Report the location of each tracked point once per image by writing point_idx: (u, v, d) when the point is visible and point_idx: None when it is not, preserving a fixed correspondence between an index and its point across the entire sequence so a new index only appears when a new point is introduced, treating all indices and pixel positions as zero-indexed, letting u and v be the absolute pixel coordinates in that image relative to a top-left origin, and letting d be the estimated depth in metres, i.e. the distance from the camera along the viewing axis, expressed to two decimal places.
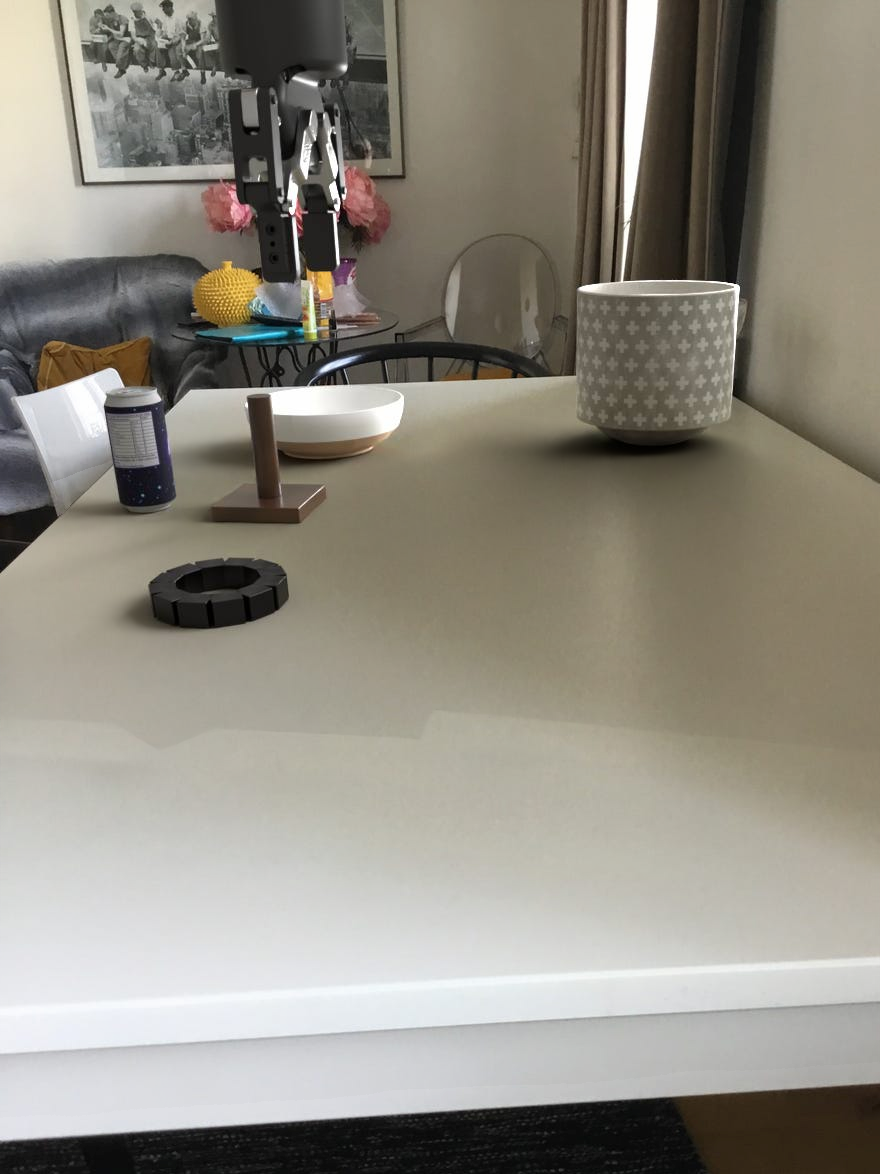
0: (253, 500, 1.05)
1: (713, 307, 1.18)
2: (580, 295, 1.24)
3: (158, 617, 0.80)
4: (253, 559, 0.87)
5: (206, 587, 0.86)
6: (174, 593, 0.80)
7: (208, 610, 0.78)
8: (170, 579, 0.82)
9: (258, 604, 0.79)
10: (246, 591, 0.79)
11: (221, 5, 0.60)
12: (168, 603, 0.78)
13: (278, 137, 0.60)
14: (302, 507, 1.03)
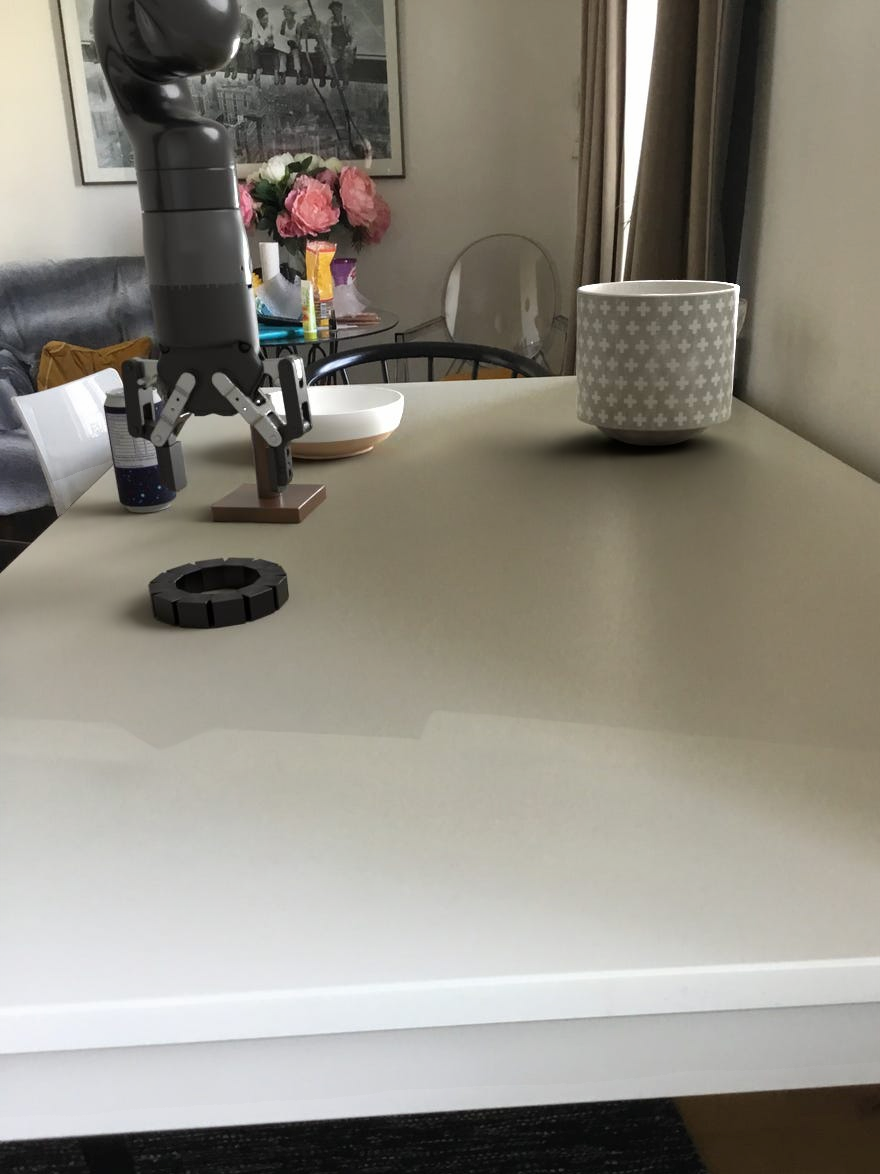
0: (253, 500, 1.05)
1: (713, 307, 1.18)
2: (580, 295, 1.24)
3: (158, 617, 0.80)
4: (253, 559, 0.87)
5: (206, 587, 0.86)
6: (174, 593, 0.80)
7: (208, 610, 0.78)
8: (170, 579, 0.82)
9: (258, 604, 0.79)
10: (246, 591, 0.79)
11: (223, 296, 0.75)
12: (168, 603, 0.78)
13: None
14: (302, 507, 1.03)
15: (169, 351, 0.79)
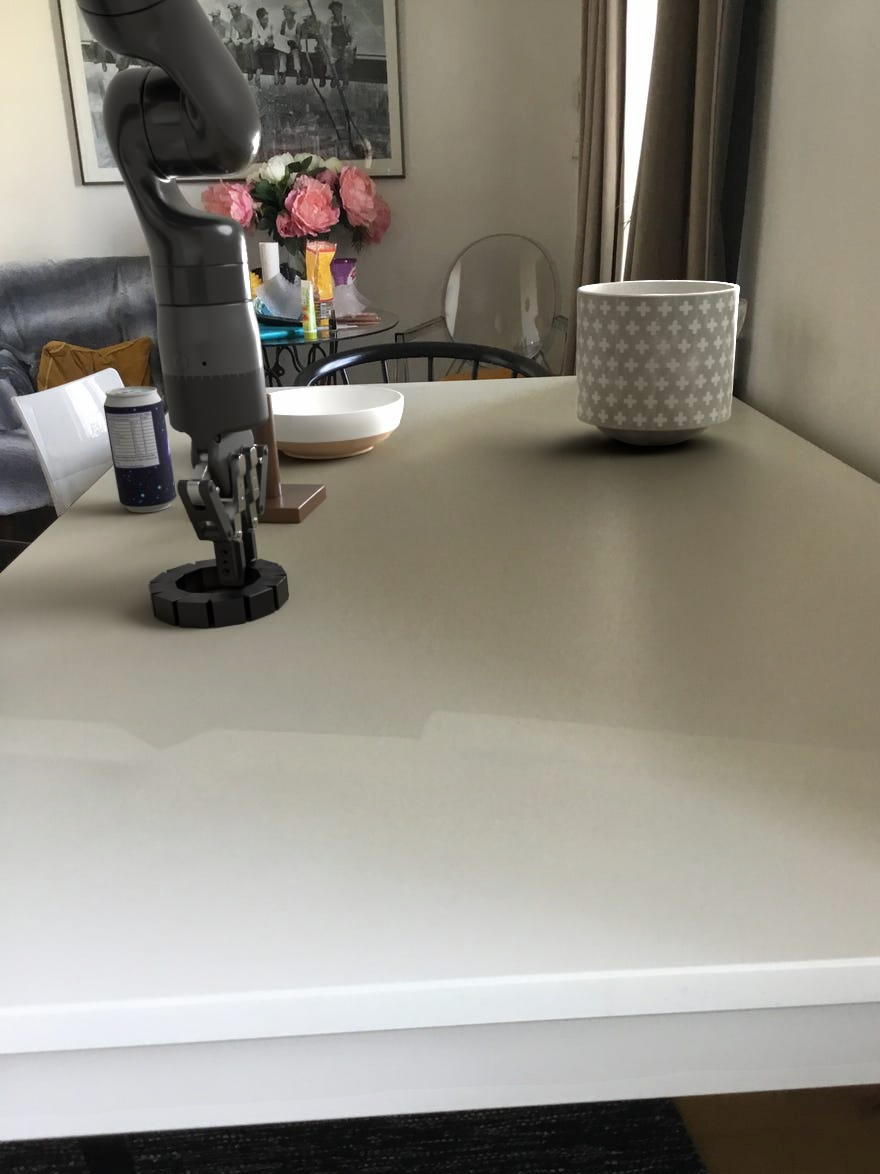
0: None
1: (713, 307, 1.18)
2: (580, 295, 1.24)
3: (158, 616, 0.80)
4: (253, 559, 0.87)
5: (206, 587, 0.86)
6: (174, 593, 0.80)
7: (208, 610, 0.78)
8: (170, 579, 0.83)
9: (258, 603, 0.79)
10: (246, 591, 0.79)
11: None
12: (168, 603, 0.78)
13: None
14: (302, 507, 1.03)
15: (220, 440, 0.79)
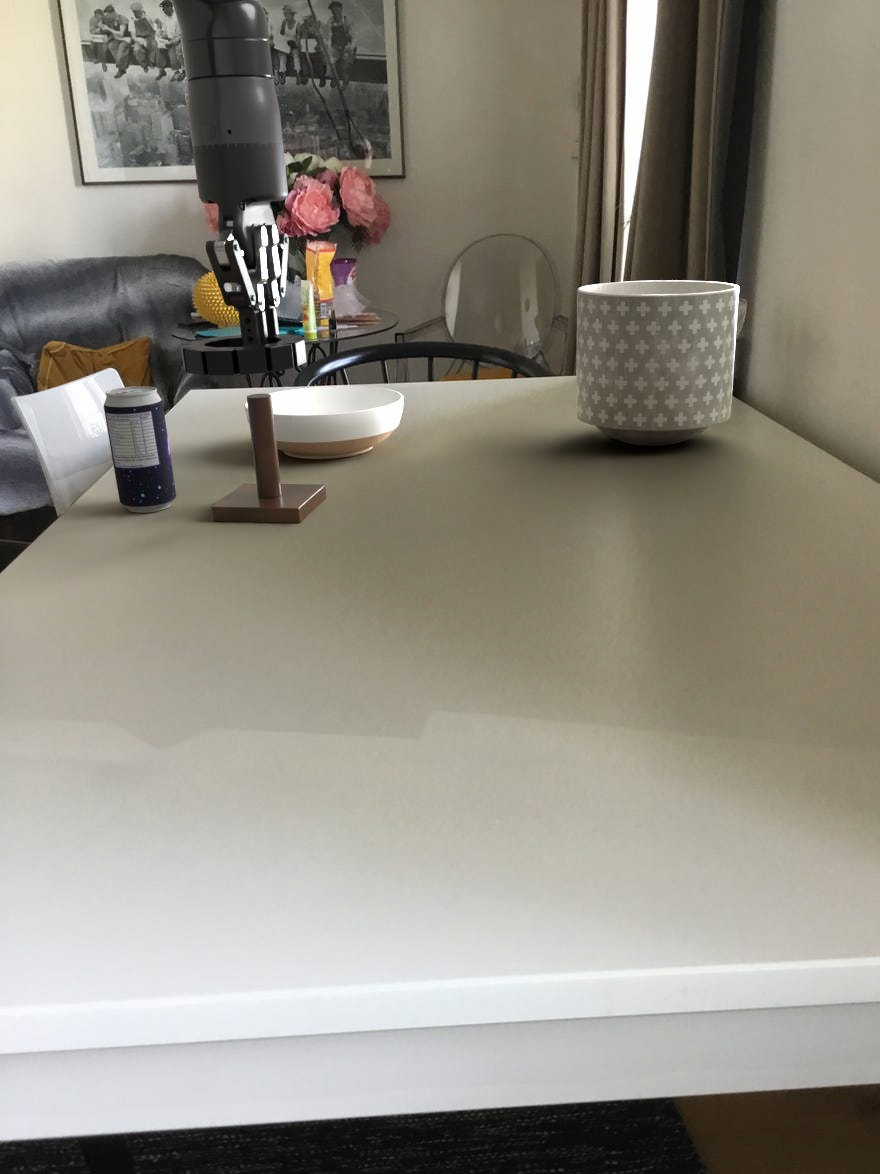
0: (253, 500, 1.05)
1: (713, 307, 1.18)
2: (580, 295, 1.24)
3: (189, 370, 0.89)
4: (275, 334, 0.95)
5: None
6: (203, 347, 0.88)
7: (233, 359, 0.87)
8: (200, 343, 0.91)
9: (278, 356, 0.88)
10: (268, 345, 0.88)
11: None
12: (198, 353, 0.87)
13: None
14: (302, 507, 1.03)
15: (244, 208, 0.88)
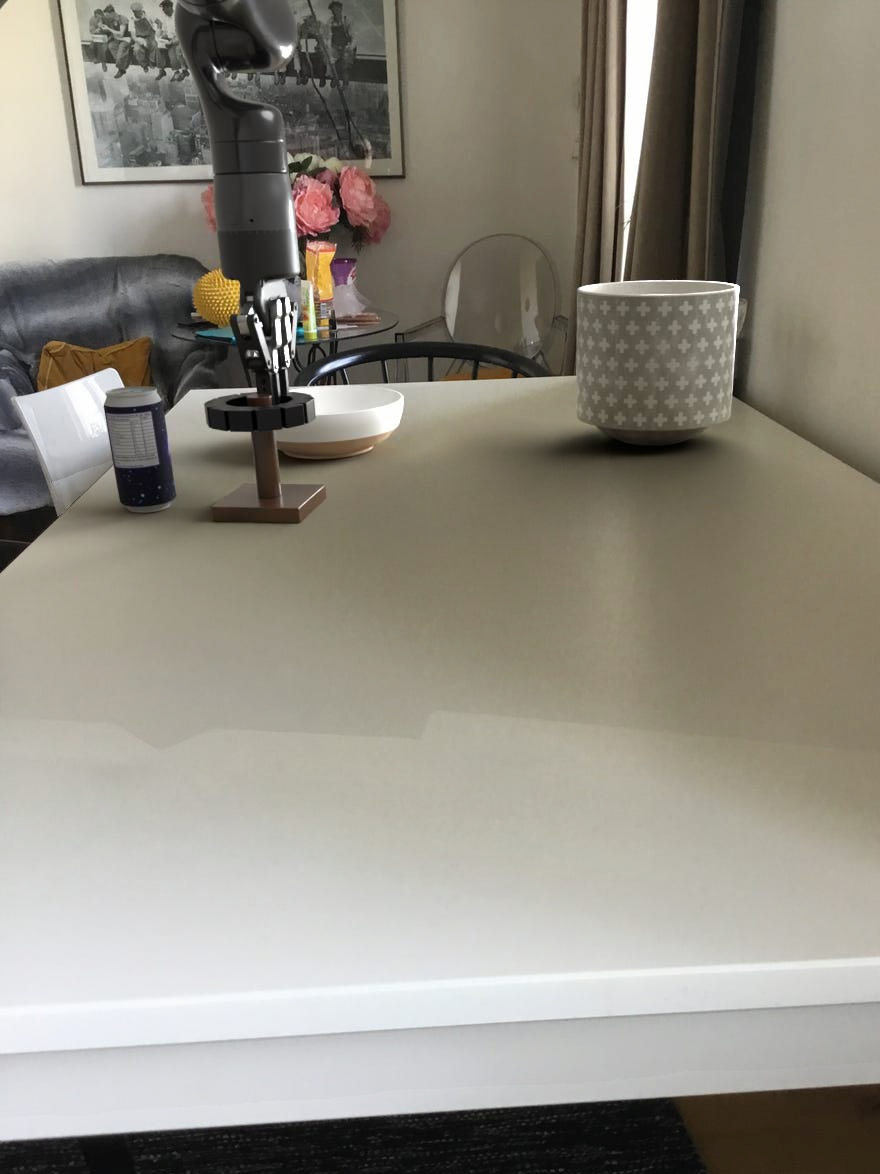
0: (253, 500, 1.05)
1: (713, 307, 1.18)
2: (580, 295, 1.24)
3: (212, 426, 1.01)
4: (287, 392, 1.07)
5: None
6: (225, 407, 1.00)
7: (252, 417, 0.99)
8: (221, 401, 1.03)
9: (292, 415, 1.00)
10: (282, 405, 1.00)
11: None
12: (221, 412, 0.99)
13: None
14: (302, 507, 1.03)
15: (263, 285, 1.00)
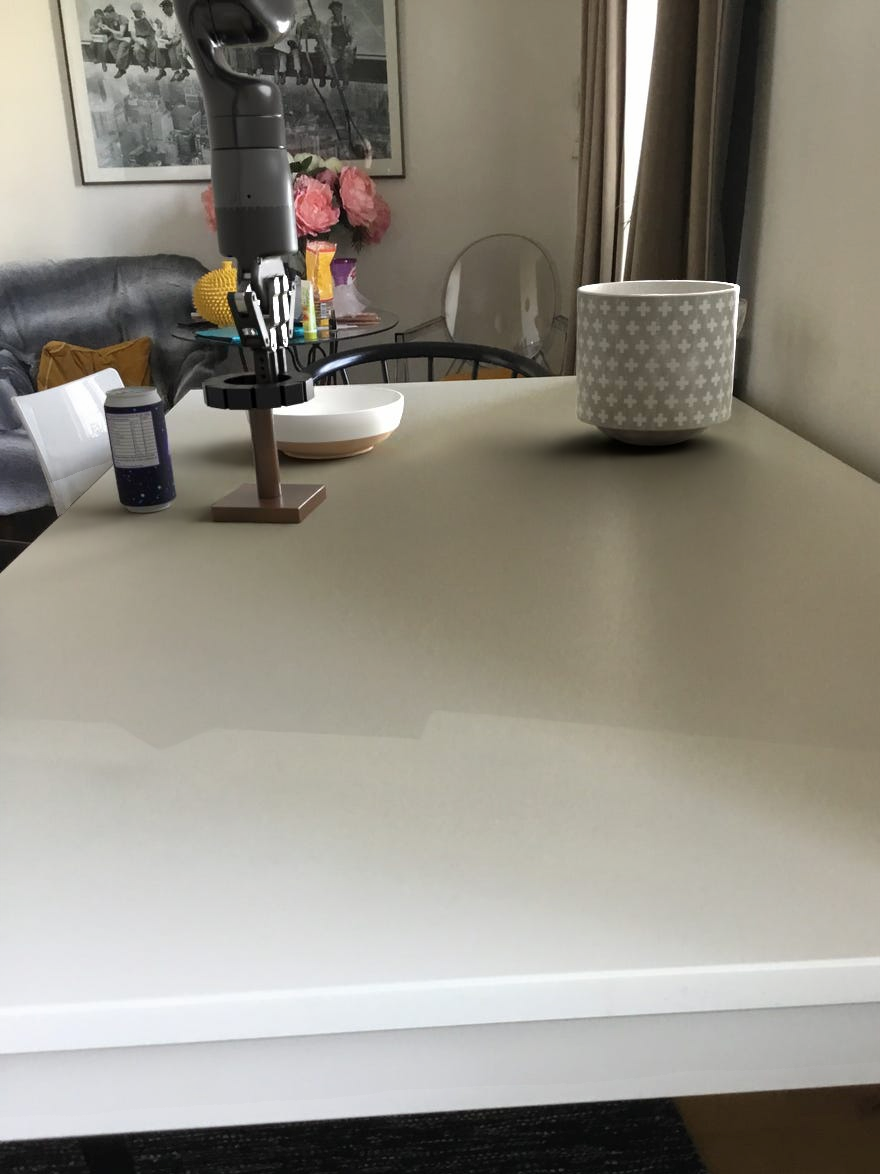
0: (253, 500, 1.05)
1: (713, 307, 1.18)
2: (580, 295, 1.24)
3: (211, 404, 1.00)
4: (285, 371, 1.07)
5: None
6: (224, 385, 1.00)
7: (251, 395, 0.98)
8: (219, 380, 1.02)
9: (291, 393, 0.99)
10: (281, 383, 0.99)
11: None
12: (219, 390, 0.98)
13: None
14: (302, 507, 1.03)
15: (260, 262, 0.99)
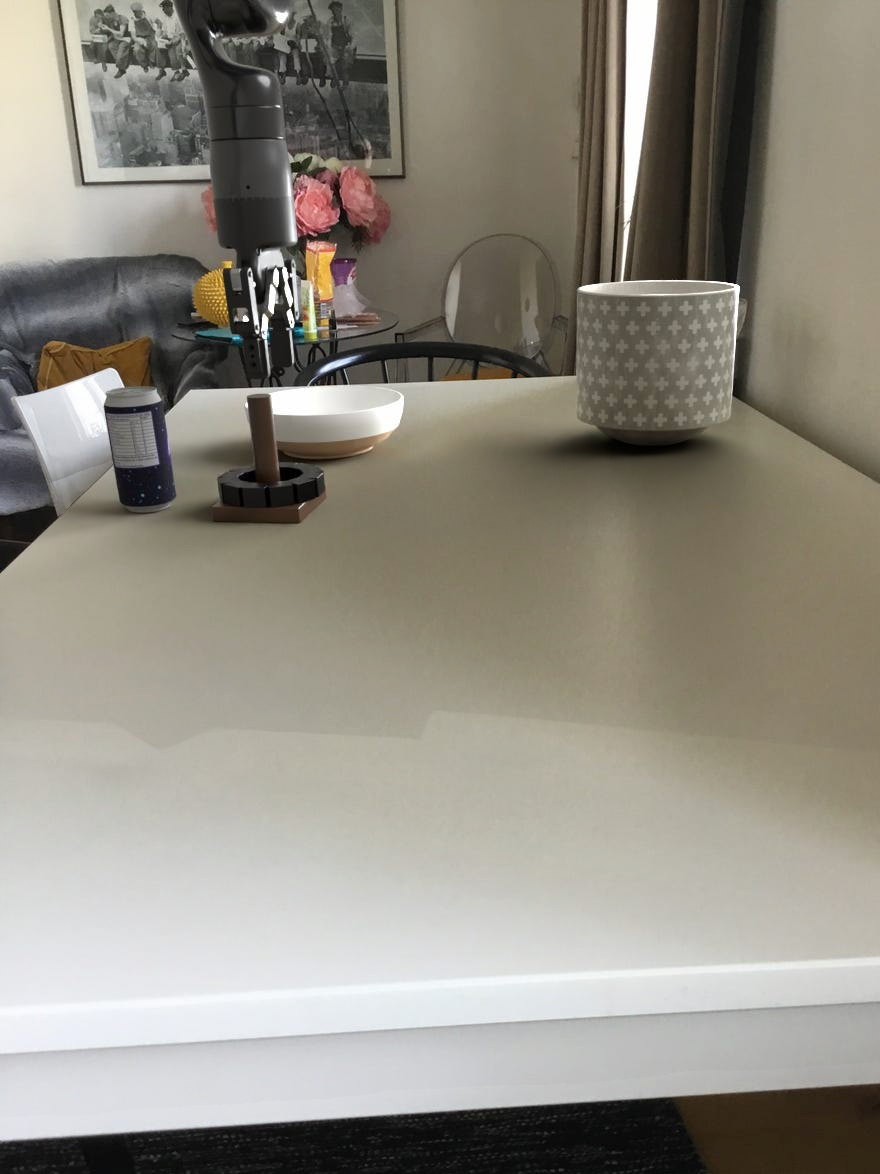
0: None
1: (713, 307, 1.18)
2: (580, 295, 1.24)
3: (226, 501, 1.04)
4: (296, 463, 1.11)
5: None
6: (239, 483, 1.04)
7: (266, 494, 1.02)
8: (233, 475, 1.07)
9: (303, 490, 1.04)
10: (294, 481, 1.04)
11: None
12: (235, 489, 1.02)
13: None
14: (302, 507, 1.03)
15: (259, 254, 0.99)
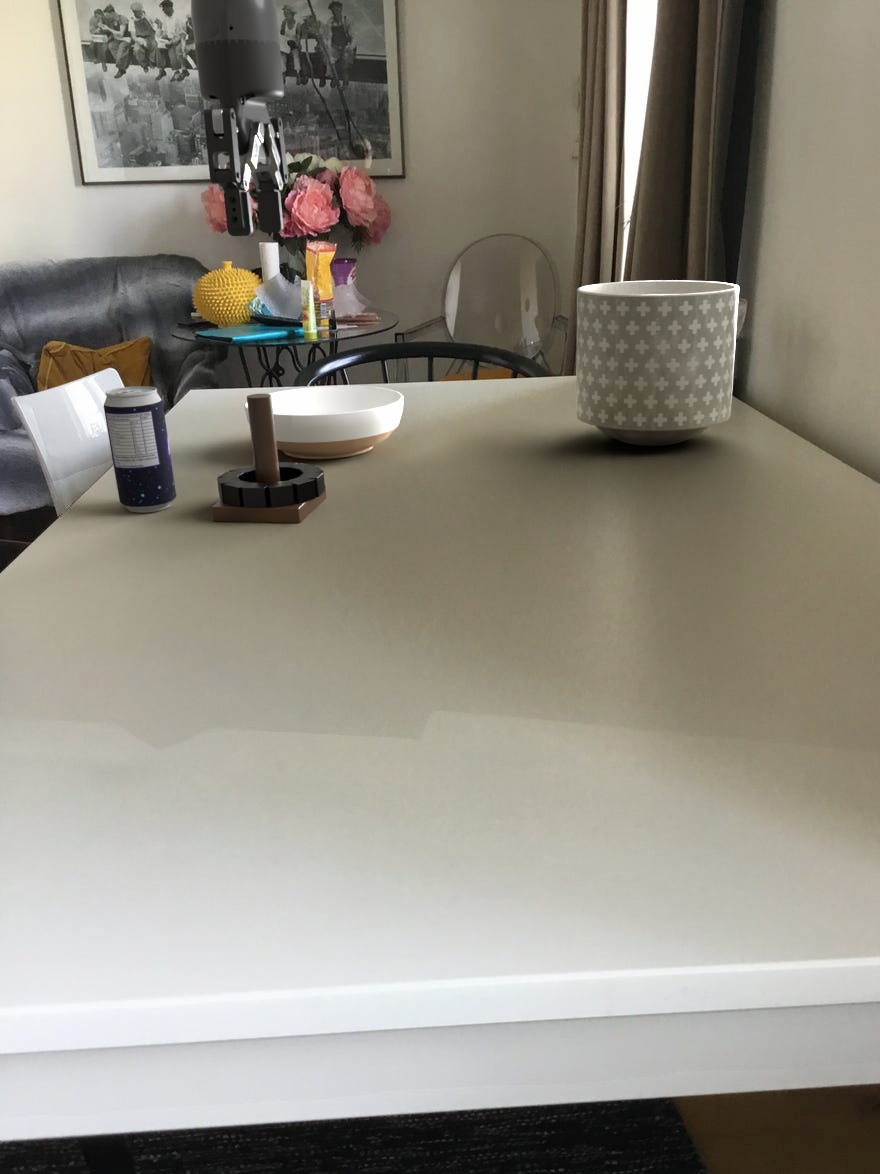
0: None
1: (713, 307, 1.18)
2: (580, 295, 1.24)
3: (226, 501, 1.04)
4: (296, 463, 1.11)
5: None
6: (239, 483, 1.04)
7: (266, 494, 1.02)
8: (233, 475, 1.07)
9: (303, 490, 1.04)
10: (294, 481, 1.04)
11: None
12: (235, 489, 1.02)
13: None
14: (302, 507, 1.03)
15: (244, 103, 0.94)
